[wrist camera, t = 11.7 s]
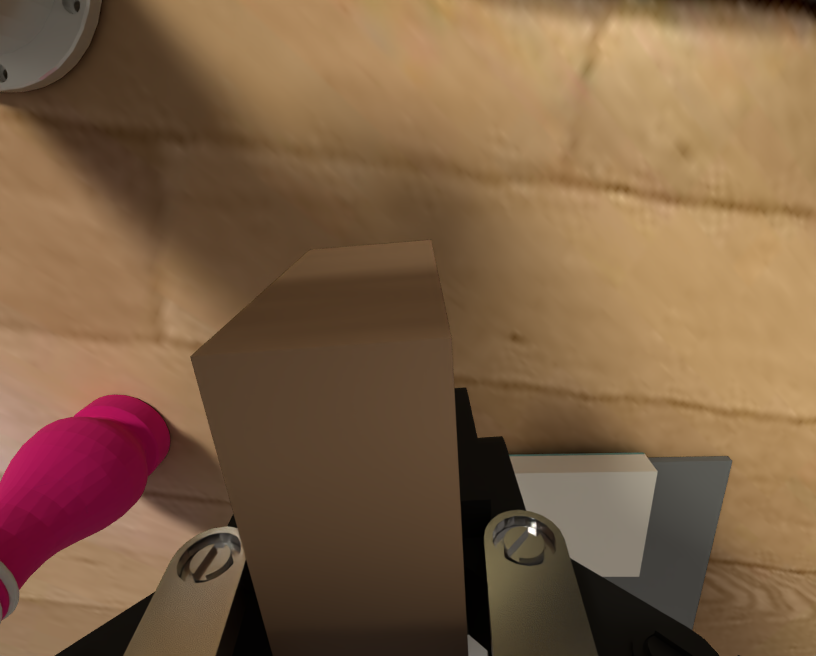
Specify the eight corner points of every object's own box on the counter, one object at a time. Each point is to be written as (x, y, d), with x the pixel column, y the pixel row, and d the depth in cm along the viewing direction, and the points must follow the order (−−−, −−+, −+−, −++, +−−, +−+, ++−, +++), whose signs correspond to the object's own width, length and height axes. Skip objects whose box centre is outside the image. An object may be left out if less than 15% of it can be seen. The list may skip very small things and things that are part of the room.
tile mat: (409, 462, 32) (409, 466, 32) (727, 456, 31) (732, 460, 31) (419, 638, 39) (419, 644, 38) (685, 638, 38) (688, 644, 37)
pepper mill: (198, 434, 32) (-116, 815, 14) (141, 490, 34) (-203, 890, 15) (112, 367, 31) (-379, 694, 12) (58, 429, 33) (-439, 795, 14)
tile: (499, 473, 29) (496, 577, 33) (657, 471, 29) (639, 576, 32) (495, 454, 31) (492, 554, 34) (643, 452, 31) (627, 553, 34)
